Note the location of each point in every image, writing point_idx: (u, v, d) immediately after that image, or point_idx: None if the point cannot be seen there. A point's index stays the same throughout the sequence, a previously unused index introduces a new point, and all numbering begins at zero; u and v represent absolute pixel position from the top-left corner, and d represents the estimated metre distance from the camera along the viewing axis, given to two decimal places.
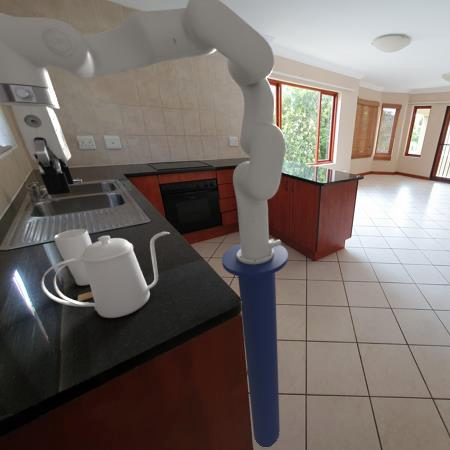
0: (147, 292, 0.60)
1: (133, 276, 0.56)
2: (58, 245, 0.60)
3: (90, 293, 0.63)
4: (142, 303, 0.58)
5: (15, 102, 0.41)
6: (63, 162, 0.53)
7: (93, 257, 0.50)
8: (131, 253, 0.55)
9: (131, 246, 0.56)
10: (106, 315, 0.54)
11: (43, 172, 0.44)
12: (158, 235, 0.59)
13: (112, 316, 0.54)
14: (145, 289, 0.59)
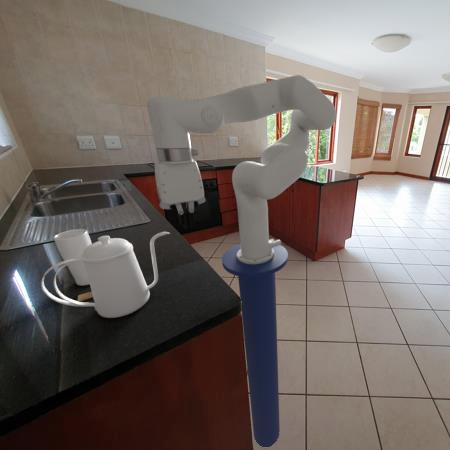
0: (147, 292, 0.60)
1: (133, 276, 0.56)
2: (58, 245, 0.60)
3: (90, 293, 0.63)
4: (142, 303, 0.58)
5: (192, 159, 0.58)
6: None
7: (93, 257, 0.50)
8: (131, 253, 0.55)
9: (131, 246, 0.56)
10: (106, 315, 0.54)
11: (193, 210, 0.62)
12: (158, 235, 0.59)
13: (112, 316, 0.54)
14: (145, 289, 0.59)
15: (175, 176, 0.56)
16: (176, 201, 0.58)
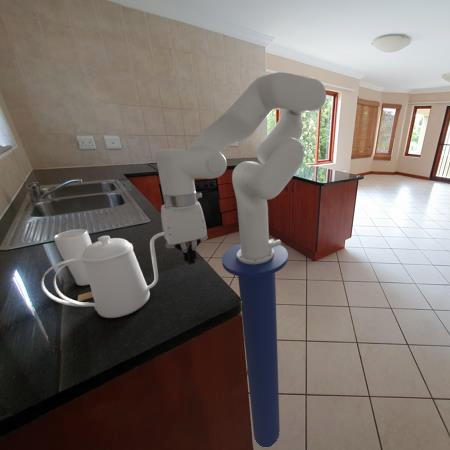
0: (147, 292, 0.60)
1: (133, 276, 0.56)
2: (58, 245, 0.60)
3: (90, 293, 0.63)
4: (142, 303, 0.58)
5: (196, 202, 0.62)
6: None
7: (93, 257, 0.50)
8: (131, 253, 0.55)
9: (131, 246, 0.56)
10: (106, 315, 0.54)
11: None
12: (158, 235, 0.59)
13: (112, 316, 0.54)
14: (145, 289, 0.59)
15: (180, 219, 0.59)
16: (180, 241, 0.61)
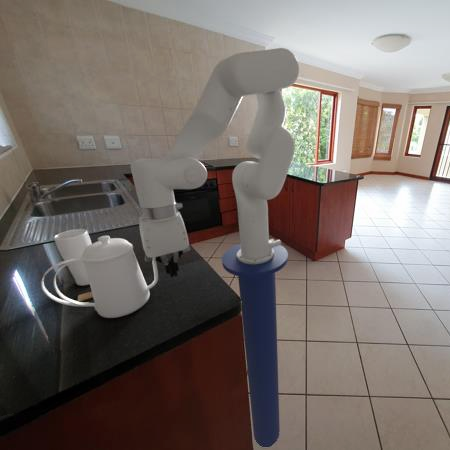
0: (147, 292, 0.60)
1: (133, 276, 0.56)
2: (58, 245, 0.60)
3: (90, 293, 0.63)
4: (142, 303, 0.58)
5: (177, 213, 0.59)
6: None
7: (93, 257, 0.50)
8: (131, 253, 0.55)
9: (131, 246, 0.56)
10: (106, 315, 0.54)
11: (178, 259, 0.64)
12: None
13: (112, 316, 0.54)
14: (145, 289, 0.59)
15: (159, 231, 0.57)
16: (160, 254, 0.59)
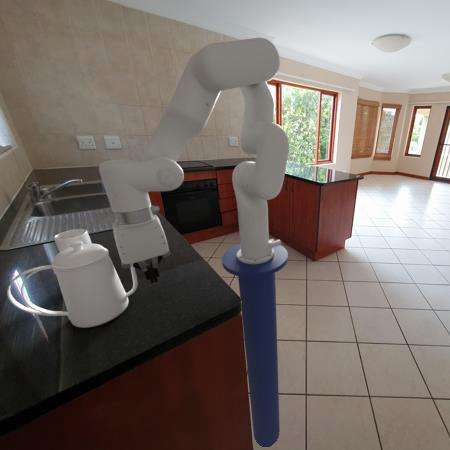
0: (125, 300, 0.57)
1: (108, 284, 0.53)
2: (58, 245, 0.60)
3: None
4: (119, 311, 0.55)
5: (153, 217, 0.56)
6: None
7: (63, 264, 0.47)
8: (106, 259, 0.53)
9: (106, 252, 0.53)
10: (79, 325, 0.51)
11: (157, 265, 0.61)
12: None
13: (86, 326, 0.52)
14: (123, 297, 0.57)
15: (134, 236, 0.54)
16: (137, 260, 0.56)
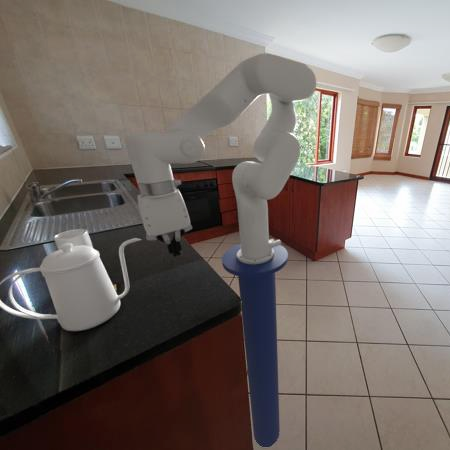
0: (117, 302, 0.57)
1: (99, 286, 0.52)
2: (58, 245, 0.60)
3: None
4: (110, 315, 0.54)
5: (175, 189, 0.58)
6: None
7: (51, 266, 0.46)
8: (96, 262, 0.52)
9: (97, 254, 0.52)
10: (69, 328, 0.50)
11: None
12: (128, 242, 0.55)
13: (75, 329, 0.51)
14: (114, 299, 0.56)
15: (158, 208, 0.56)
16: (162, 232, 0.58)
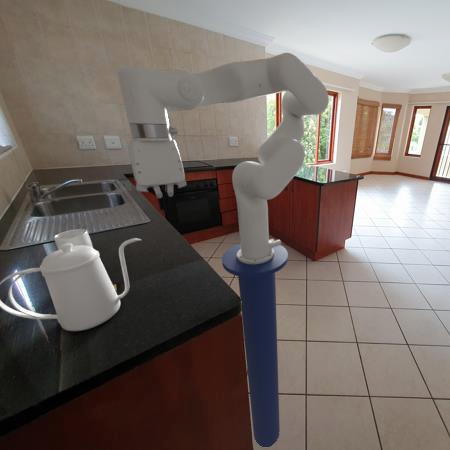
0: (116, 302, 0.57)
1: (99, 286, 0.52)
2: (58, 245, 0.60)
3: None
4: (110, 315, 0.54)
5: None
6: None
7: (51, 266, 0.46)
8: (96, 262, 0.52)
9: (97, 254, 0.52)
10: (69, 328, 0.50)
11: None
12: (127, 242, 0.55)
13: (75, 329, 0.51)
14: (114, 299, 0.56)
15: (150, 154, 0.51)
16: (153, 183, 0.54)
